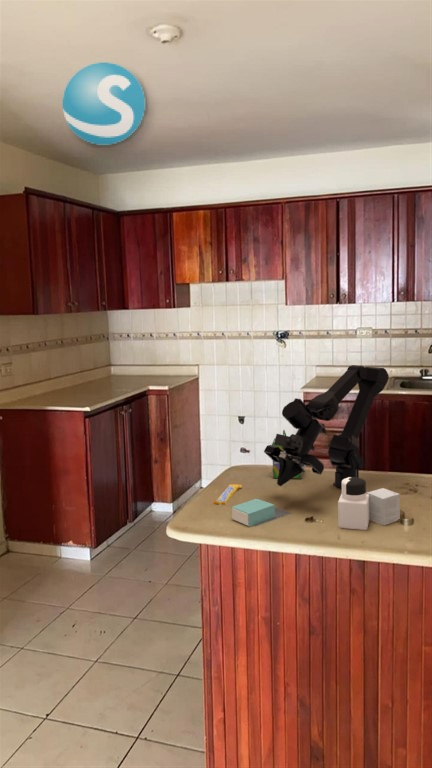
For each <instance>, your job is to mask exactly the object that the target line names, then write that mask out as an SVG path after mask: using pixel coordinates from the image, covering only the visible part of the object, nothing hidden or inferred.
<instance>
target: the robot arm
mask: <svg viewBox="0 0 432 768" xmlns="http://www.w3.org/2000/svg"><path fill="white" fill-rule="evenodd" d="M389 376H390V375H389V372H388V371H387V370H386V368H385V367H375V366H363V365H356V364H352V365H349V366H348V367H347V369H346V371H344V373H343V374H342V375H341V376H340V377H339V378H338V379H337V380H336V381H335V382H334V383H333V384H332V385H331V386H330V388H328V390H326V391H325V392H323V393H320V394H317V395H315V396H314V397H313V398H311V399H310V400H309V401H308V402H307V404H305V403H304V402H303V400H302V399H301V398H294V399H293V401H291V402H288V403H287V404H286V405H284V407H283V408H282V411H281V415H282V417H283V418H284V419H285V420H286V421H287V422H288V423H289V424H290V425H291V426H292V427H293V428H294V429H296V430H297V431H296V432H295V434H294V433H292V434H290V436H289V435H286V436H285V435H283V434H281V433H276V434H275V437H274V438H275V442H274V445H279V446H282V449H283V450H284V451H286V453H285V452H283V451H282V450H281V449H280V448H279V447H277V446H273V445H272V444H270V445H269V444H268V445H266V447H265V448H264V450H263V453H264V454H266V456H267V457H268V458H270V459H271V461H272V462H273V461H275V462H277V463H279V464H280V467H279V475H278V479H277V481H276V484H277V486H279V487H282V486H283V485H285V484H286V483H288V482H290V481H291V480H292V479H295V478H294V477H295V476H297V475H299V474H300V473H302V474H304V473H305V472H306V471H305V468H306V467H310V468H311V470H312V473H313V474H316V475H322V474H323V471H324V469H325V466H324V465H325V464H324V463H323V462H321V460H320V459H319V458H318V457H317V456H316V455H312V454H309V453H310V451H315V448H316V447H315V446H314V444H315V442H316V440H317V438H318V436H319V435H320V434H325V435H326V433H327V428H326V427H325V423H322V422H321V423H320V422H319V421H323V422H329V421H331V420H333V418H334V416H335V415H336V414H337V413H338V411H339V404H340V403H341V402H342V401H343V400H344V399H345V398H346V397H347V395H348V394H349V393H350V392H352V390H353V389H354V388H355V387H356V385H358V393H357V395H356V398H355V400H354V403H353V405H352V408H351V410H350V413H349V415H348V417H347V420H346V422H345V425H344V427H343V430H342V432H341V433H340V434H339V435H338V434H334V435H333V436H332V437H331V441H330V443H329V444H328V451H327V454H328V457H329V460H330V464H331V466H336V467H335V473H334V482H333V483H332V486H334V487H337V488H340V489H342V480H343V479H345V478H348V477H358V478H360V476H359V474H360V473H359V471H360V470H361V469H363V468H364V463H365V460H364V458H362V456H361V455H360V454H359V453H360V452H359V451H360V443H359V437H360V434H361V432H362V430H363V427H364V424H365V423H366V420H367V417H368V415H369V412H370V409H371V407H372V404H373V402H374V400H375V397H376V396H378V395H379V394H380V393H381V392H382V391H383V390H385V387H386V385H387V383H388V381H389V378H390V377H389Z"/></svg>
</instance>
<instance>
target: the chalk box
mask: <svg viewBox="0 0 432 768" xmlns="http://www.w3.org/2000/svg"><path fill="white" fill-rule="evenodd" d="M282 435H285V436H287V434H286V431H285V429H283V430H282ZM275 438H276V437H274V439H273V441H272V443H271V445H273V446H277V447H279V448H280V449H281V450H282V451H283V452H285V453H286V451H284V450H283V449H282V446H279V445H274V442H275ZM279 467H280V464H279V463H277V462H275V461H273V460H272V473H273V474H272V479H277V480H278V475H279ZM302 476H303V473H300V474H299V475H297V476H295V477H294V478H293V479H302V478H303V477H302Z"/></svg>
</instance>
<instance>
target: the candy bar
mask: <svg viewBox="0 0 432 768" xmlns="http://www.w3.org/2000/svg"><path fill="white" fill-rule="evenodd" d="M242 486H243V485H242V484H237V483H236V484H234V483H233V484H232V483H229V485H228V486H227V487H226V489H225V490H224V491H223V492H222V493H221V494H220V495H219V497H218V498H217V499H216V500H213V501H212V504H214V505H224V506H225V505H226V504H227V502H228V501H229V500H230V499H231V498H232V497H233V496H234V494H235V493H236V492H238V491H239V489H241V488H242Z"/></svg>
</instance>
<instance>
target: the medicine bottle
mask: <svg viewBox="0 0 432 768" xmlns="http://www.w3.org/2000/svg"><path fill="white" fill-rule="evenodd" d="M366 490H367V483H366V480H365V479H363V478H360V477H359V478H358V477H348V478H345V479H343V480H342V488H341V494H340V496H339V499H338V501H337V513H338V514H337V515H338V516H337V517H338V518H337V519H338V520H337V522H338V523H337V524H338V527H339V528H340V529H348V530H350V529H351V530H361V531H366V530H368V526H369V524H370V523H369V522H370V521H371V520H370V509H369V494H367V491H366Z"/></svg>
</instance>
